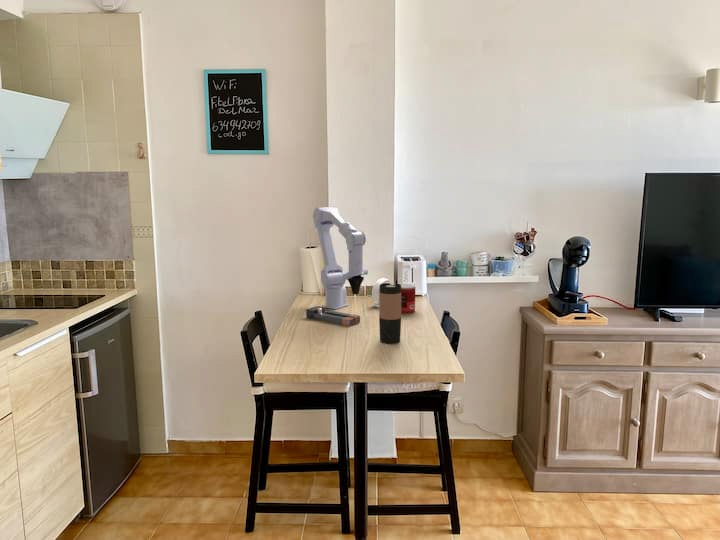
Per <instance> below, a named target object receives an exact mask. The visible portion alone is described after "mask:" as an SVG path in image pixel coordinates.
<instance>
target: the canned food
mask: <svg viewBox="0 0 720 540" xmlns="http://www.w3.org/2000/svg"><path fill="white" fill-rule="evenodd" d="M400 285H401V314H412V313H415V311H416V285H414V284H411V283H405V284H404V283H403V284H402V283H401V284H400Z"/></svg>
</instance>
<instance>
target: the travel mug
mask: <svg viewBox="0 0 720 540" xmlns="http://www.w3.org/2000/svg"><path fill="white" fill-rule="evenodd" d="M378 308H379V310H378V312H379V313H378V318H379V319H378V321H379V322H378V323H379V326H378V327H379V341H380V342H381V343H382V344H388V345H392V344H399V343H401V329H402V327H401V325H402V313H401V284H399V283H395V284H391V283H389V282H386V283H383V284H380V291H379V307H378Z"/></svg>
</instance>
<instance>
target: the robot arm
mask: <svg viewBox="0 0 720 540" xmlns="http://www.w3.org/2000/svg"><path fill="white" fill-rule="evenodd" d="M339 212H340V211H339V209H338V208H337V207H336V206H330V207H329V206H327V207H318V206H317V207H315V208H314V209H313V213H312V218H313V222H314V223H313V224H314V226H315V227H314V228H316V230H317V233H318V238H319V243H320V248H321V253H322V257H323V263H324V267H323V268H322V269H321V271H320V283H321V285H322V286H323V288H325V293H324V294H325V295H324V296H325V298H324V299H325V304H324V305H321V306H320V307H325V309H326V308H327V309H329V310H330V309H332V310H338V309H341V308H344V307H347V306H349V303H347V289H346V287H345V286H344V285H345V284H346V281H348V284H349V285H350V290H351V293H352V295H355V296H356V295H359V293H360V289H361V286H362V283H363V281H364V279H365V277H364V276H365V275H366V276H367V275H369V270H368V269H365V268H364V269H363V266H364V265H363V257H364V255H363V253H364V250H363V248H364V247H363V246H364V245H365V244H366V241H367V240H366V235H365V233H364V231H358V230H357V229H356V228H355V227H354V226H353V225H352V224H351V222H349V221H348V222H347V221H344V219H343V218H342V217H341V215H340V214H339ZM334 226H336V227H337V228H338V232H339V234H341V236H342V237H343V238H344V239H345V244H346V248H347V251H348V271H347V272H346V273H345V272H344V269H343V266H340V265H339V264H338V263H337V259H336V253H335V250H334V246H333V241H332V236H331V235H332V234H331V231H330V230H331V228H333V227H334Z"/></svg>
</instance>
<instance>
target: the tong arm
mask: <svg viewBox="0 0 720 540" xmlns="http://www.w3.org/2000/svg"><path fill="white" fill-rule="evenodd" d="M325 313H326V314H331V315H336V316H342V317H350V318H354V325H355V324H359V323H360V322H361V315H360V314H351V313H345V312H341V311H334V310H330V309H329V310H325Z"/></svg>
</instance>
